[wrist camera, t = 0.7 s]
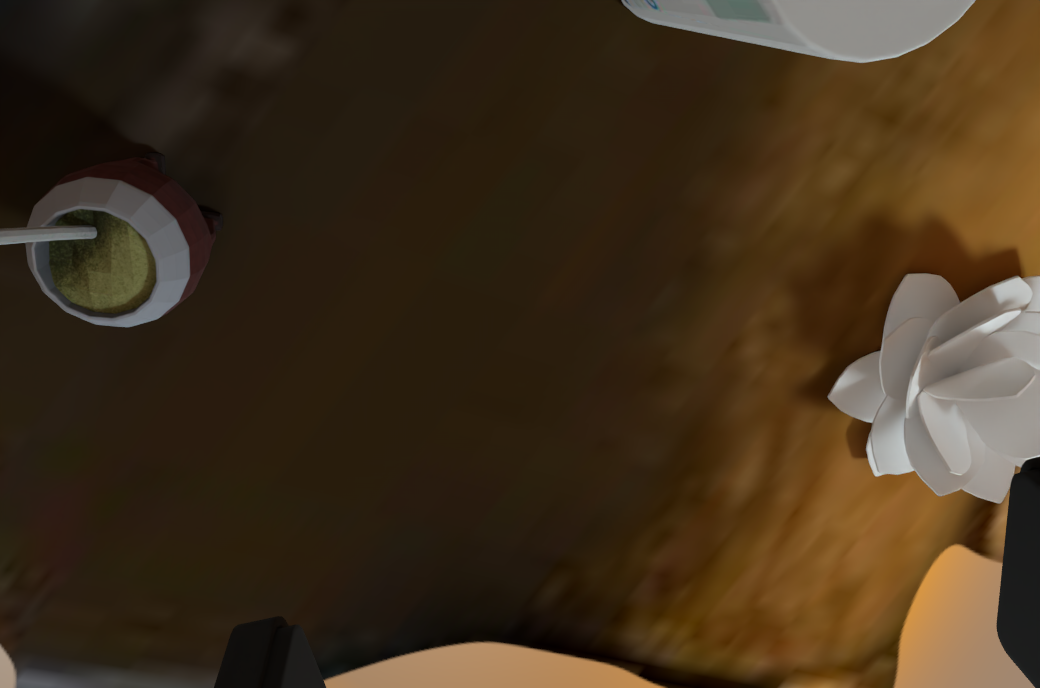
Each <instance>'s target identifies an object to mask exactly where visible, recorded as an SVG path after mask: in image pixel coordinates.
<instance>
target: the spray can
mask: <svg viewBox="0 0 1040 688" xmlns="http://www.w3.org/2000/svg"><path fill="white" fill-rule="evenodd" d="M621 1H622V2H623V4H624V5H625V6H626V7H627V8H628V9H629V10H631V11H632V12H633V13H634V14H635V15H636V16H638V17H640V18H642V19H644V20H647V21H649V22H651V23H655V24H660V25H665V26H670V27H675V28H680V29H685V30H690V31H695V32H699V33H704V34H709V35H714V36H719V37H724V38H729V39H734V40H739V41H744V42H749V43H754V44H759V45H764V46H769V47H774V48H779V49H784V50H788V51H793V52H798V53H803V54H808V55H813V56H818V57H823V58H828V59H835V60H843V61H851V62H859V63H864V62H871V61H877V60H883V59H889V58H895V57H898V56H900V55H903V54H905V53H907V52H909V51H912V50H914V49H916V48H918V47H921V46H923V45H925V44H927V43H929V42H930V41H932V40H933V39H934V38H936V37H937V36H938V35H940V34H941V33H942V32H944V31H945V30H946V29H948V28H949V27H950V26H952V25H953V24H954V23H956V22H957V21H958V20H959V19H960V18H961V16H962V15H963V14H964V13H965V12H966V11H967V10H968V8H969V7H970V6H971V5H972V4H973V3H974V1H975V0H621Z"/></svg>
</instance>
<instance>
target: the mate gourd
mask: <svg viewBox="0 0 1040 688" xmlns="http://www.w3.org/2000/svg"><path fill="white" fill-rule="evenodd" d="M222 226H223V217H222V215H221V214H219V213H214V212H205V211H200V210H199V208H198V206H197V204H196V202H195V200H194V199H193V198H192V197H191V196H190V195H189V194H188V193H187V192H186V191H185V190H184V189H183V188H182V187H181V186H180V185H179V184H178V183H177V182H176V181H175V180H173V179H172V178H170V177H168V176H166V171H165V159H164V155H162V154H161V153H152V152H151V153H147V154H145V158H139V157H133V158H129V159H125V160H118V161H111V162H106V163H102V164H98V165H95V166H92V167H89V168H85V169H82V170H79V171H76V172H73V173H70V174H68V175H66V176H65V177H63V178H62V179H61V180H60V181H59V182H58V183H57V184H56V185H55V186H53V187H52V188H51V189H50V190H49V191H48V192H47V193H46V194H45V195H44V196H43V197H42V198H41V199H40V201H39V202H38V203H37V204H36V205H35V206H34V208H33V211H32V214H31V217H30V220H29V222H28V225H27V228H8V229H0V245H3V244H14V243H26V252H27V260H28V265H29V267H30V269H31V271H32V273H33V274H34V276H35V278H36V280H37V282H38V283H39V285H40V287H41V289H42V290H43V292H44V293H45V294H46V295H47V296H49V297H50V298H51V299H52V300H53V301H54V302H55V303H57V304H58V305H59V306H60V307H61V308H62V309H63V310H64V311H66V312H68V313H70V314H72V315H75V316H77V317H79V318H81V319H84V320H86V321H88V322H91V323H93V324H96V325H107V326H119V327H131V326H135V325H138V324H142V323H145V322H149V321H152V320H156V319H158V318H159V317H161V316H164V315H166V314H168V313H169V312H170V311H171V310H173V309H174V308H175V307H176V306H177V305H179V304H180V303H181V302H182V301H183V300H185V299H186V298H187V297H188V296H189V295H191V294H192V293H193V292H194V290H195V288H196V286H197V284H198V282H199V280H200V277H201V275H202V273H203V271H204V269H205V267H206V265H207V262H208V260H209V257H210V252H211V247H212V245H213V243H214V241H215V239H216V230H221V229H222Z"/></svg>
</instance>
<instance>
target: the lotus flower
mask: <svg viewBox="0 0 1040 688" xmlns="http://www.w3.org/2000/svg"><path fill="white" fill-rule="evenodd" d="M828 399H829V400H830V401H831V402H832V403H833V404H834V405H835V406H836V407H837V408H838V409H839V410H840V411H842V412H844V413H846V414H848V415H850V416H852V417H854V418H857V419H860V420H863V421H865V422H870V423H872V428H871V431H870V433H869V437H868V441H867V445H866V452H867V457H868V462H869V464H870V466H871V469H872V471H873V474H874V475H875V476H880V475H883V474H896V475H899V474H903V473H908V472H911V471H914V470H915V471H916V473H917V474H918V475H919V477H920V478H921V479H922V480H923V481H924V482H925V483H926V484H927V485H928V486H929V487H930V488H931V489H932V490H933V491H934V492H935V493H936V494H937V495H938V496H943V495H946V494H949V493H952V492H955V491H958V490H960V489H962V490H964V491H966V492H968V493H970V494H972V495H974V496H976V497H979V498H982V499H985V500H989V501H992V502H996V503H1001V502H1002V501H1003V499H1004V498H1005V496H1006V494H1007V492H1008V490H1009V488H1010V486H1011V481H1012V477H1013V475H1014V471H1015V465H1016V466H1019V467H1022V465H1023V463H1024V462H1025V461H1026V460H1028V459H1031V458H1036V457H1040V276H1029V277H1025V278H1020V277H1019V276H1014V277H1011V278H1009V279H1006V280H1004V281H1001V282H999V283H996V284H994V285H991V286H989V287H987V288H985V289H983V290H982V291H980V292H978V293H976V294H974V295H972V296H971V297H969V298H967V299H966V300H964V301H962V302H961V303H960V301H959V299H958V296H957V294H956V292H955V291H954V289H953V288H952V286H951V285H950V283H948V282H947V281H946V280H945V279H944V278H943V277H942V276H940V275H934V274H928V273H918V274H906V275H905V277H904V278H903V280H902V282H901V283H900V285H899V287H898V288H897V290H896V291H895V293H894V295H893V297H892V300H891V303H890V306H889V309H888V312H887V316H886V320H885V324H884V330H883V339H882V347H881V351H877V352H873V353H871V354H868V355H866V356H864V357H861V358H859V359H858V360H856V361H855V362H853V363H852V364H850V365H848V366H847V367H846V369H845V370H844V371H843V372H842V374H841V375H840V376H839V377H838V379H837V380H836V382H835V384H834V386H833V388H832V389H831V391H830V393H829V395H828Z"/></svg>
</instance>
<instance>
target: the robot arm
mask: <svg viewBox="0 0 1040 688" xmlns="http://www.w3.org/2000/svg"><path fill="white" fill-rule="evenodd" d="M997 632H998V637H999V639H1000V642H1001V644H1002V646H1003V648H1004V650H1005V651H1006V653H1007V654H1008V655H1009V657H1010V658H1011V659H1012V660H1013V662H1014V663H1015V664H1016V665H1017V666H1018V668H1019V669H1020V670H1021V671H1022V672H1023V673H1024V675H1025V676H1026V677H1027V678H1028V679H1029V680H1030V682H1031V683H1032V684H1033V685H1034V687H1035V688H1040V457H1036V458H1031V459H1028V460H1026V461H1025V462H1024V463H1023V465H1022V467H1021V471H1020V473H1017V474H1015V475H1014V476H1013V477H1012V481H1011V487H1010V496H1009V506H1008V516H1007V526H1006V536H1005V546H1004V556H1003V566H1002V576H1001V586H1000V596H999V606H998V616H997ZM214 688H326V686H325V683H324V681H323V678H322V676H321V673H320V671H319V668H318V666H317V663H316V661H315V659H314V656H313V654H312V651H311V649H310V646H309V644H308V641H307V639H306V636H305V634H304V631H303V629H302V628H301V626H300V625H292V626H288V624H287V622H286V620H285V619H284V618H283V617H279V616H278V617H273V618H269V619H264V620H259V621H254V622H250V623H245V624H240V625H237V626H236V627H235V628H234V629H233V631H232V633H231V636H230V639H229V642H228V645H227V648H226V651H225V655H224V658H223V661H222V664H221V667H220V670H219V674H218V677H217V680H216V683H215V686H214Z"/></svg>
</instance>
